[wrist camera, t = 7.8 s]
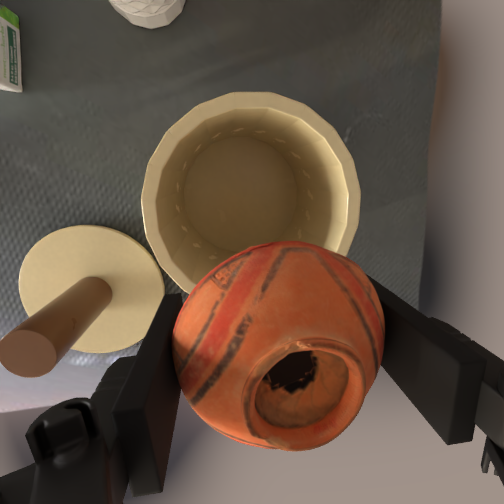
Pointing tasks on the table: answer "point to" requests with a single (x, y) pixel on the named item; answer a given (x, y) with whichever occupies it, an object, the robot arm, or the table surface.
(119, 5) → the white cup
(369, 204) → the table surface
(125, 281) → the canister lid
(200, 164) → the canister
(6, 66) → the syrup box
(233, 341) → the pot
